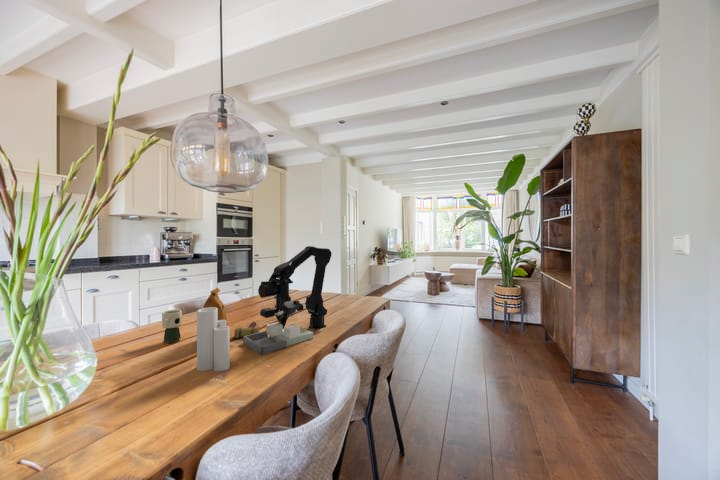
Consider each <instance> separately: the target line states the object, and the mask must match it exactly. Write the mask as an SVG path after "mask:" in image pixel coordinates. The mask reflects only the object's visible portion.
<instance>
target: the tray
mask: <svg viewBox="0 0 720 480" xmlns="http://www.w3.org/2000/svg"><path fill="white" fill-rule="evenodd" d="M242 340H243V342H242V343H243V345H245V346H246V347H248V348H250V349H251V350H253V351H254V352H255V353H257V354H259V355H261V356H264V355H266V354H267V355H268V354H271V353H273V352H278V351H280V350H283V349H286V348H287V347H288V346H287V340H283V341H280V342H277V341H275V340H273V339H271V338H270V337H269V335H268V334H267V330H264V331H260V332H259V333H255V334H251V335H247V336H243V337H242Z"/></svg>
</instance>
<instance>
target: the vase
mask: <svg viewBox="0 0 720 480" xmlns="http://www.w3.org/2000/svg"><path fill="white" fill-rule="evenodd" d="M230 339H231V338H230V326H227V323H226V320H218V310H217V308H215V307H209V308H203V307H202V308H199V309H197V310H196V368H197V371H200V372H206V371H207V372H208V371H211V370H213V371H214V372H225V371H227V370H229V369H230V368H231V367H230V365H231V364H230V363H231V360H230V359H231V357H230V355H231V353H230V350H231V349H230V347H231V345H230Z"/></svg>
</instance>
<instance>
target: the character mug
mask: <svg viewBox="0 0 720 480" xmlns="http://www.w3.org/2000/svg"><path fill="white" fill-rule="evenodd" d="M182 312H183V311H182V310H181V309H170V310H165V311H163V312H162V313H161V326H162V328H163V329H165V330H164V334H163V343H169V344H172V343H176V342H179V341H180V340H181V332H180V331H181V330H180V327H181V326H182V323H183V322H182V316H183V313H182Z"/></svg>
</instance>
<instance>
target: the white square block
mask: <svg viewBox="0 0 720 480" xmlns="http://www.w3.org/2000/svg"><path fill="white" fill-rule="evenodd" d="M266 331H267V334H268V336H269V335H270V336H272V337H273V336H276V335H280V334H283V326H282V324H280V323H279V322H278V321H277V322H272V323H268V324H266Z"/></svg>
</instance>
